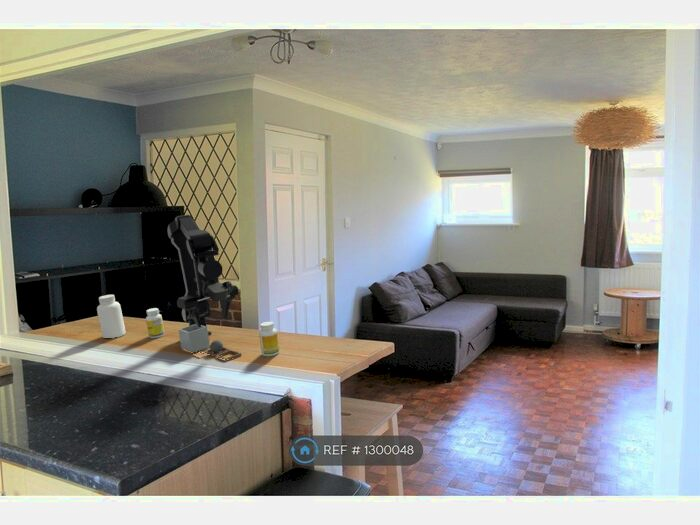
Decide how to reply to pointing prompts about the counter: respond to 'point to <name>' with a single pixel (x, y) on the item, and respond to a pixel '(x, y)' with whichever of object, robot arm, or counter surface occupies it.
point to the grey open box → (194, 338)
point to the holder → (226, 351)
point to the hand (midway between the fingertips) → (212, 322)
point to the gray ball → (216, 346)
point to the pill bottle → (110, 317)
